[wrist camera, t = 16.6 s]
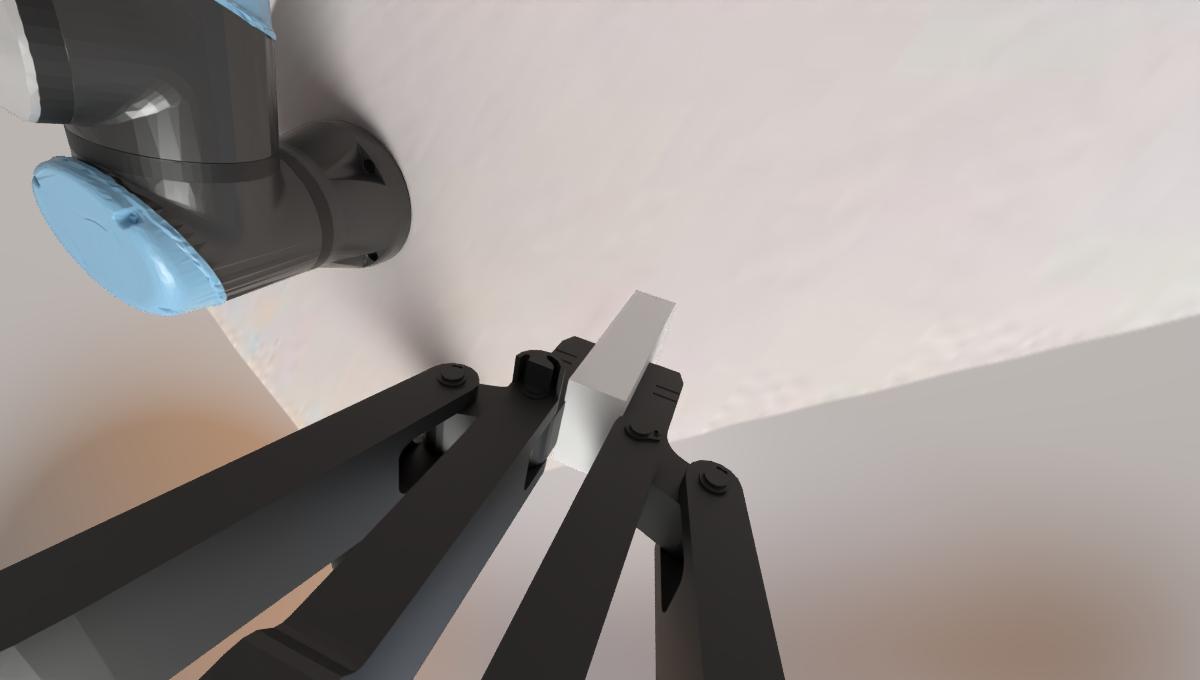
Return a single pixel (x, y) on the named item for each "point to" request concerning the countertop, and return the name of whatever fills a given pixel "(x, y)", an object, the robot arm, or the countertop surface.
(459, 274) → the countertop surface
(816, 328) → the countertop surface
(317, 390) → the countertop surface
